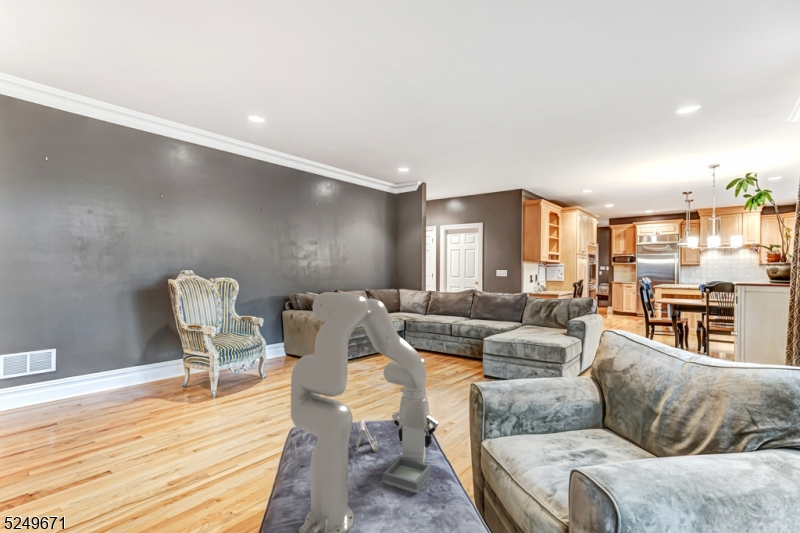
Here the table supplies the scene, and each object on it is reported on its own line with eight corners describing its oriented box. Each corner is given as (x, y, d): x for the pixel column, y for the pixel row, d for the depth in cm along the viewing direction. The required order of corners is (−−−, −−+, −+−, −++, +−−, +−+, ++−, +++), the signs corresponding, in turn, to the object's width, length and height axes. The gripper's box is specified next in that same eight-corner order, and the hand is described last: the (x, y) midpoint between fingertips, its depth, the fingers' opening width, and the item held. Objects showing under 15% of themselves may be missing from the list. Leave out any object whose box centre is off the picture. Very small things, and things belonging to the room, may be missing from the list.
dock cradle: (416, 493, 111) (416, 483, 111) (382, 482, 117) (383, 473, 117) (431, 474, 121) (431, 465, 121) (400, 465, 127) (400, 456, 127)
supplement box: (425, 456, 133) (426, 420, 133) (423, 467, 126) (423, 429, 126) (405, 454, 134) (405, 419, 134) (401, 465, 127) (401, 427, 127)
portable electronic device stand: (378, 451, 137) (378, 428, 137) (356, 453, 135) (356, 429, 135) (375, 440, 145) (376, 419, 145) (355, 442, 144) (355, 420, 144)
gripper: (387, 393, 131) (387, 442, 131) (433, 401, 123) (433, 453, 123) (397, 386, 138) (397, 433, 138) (441, 394, 130) (442, 443, 130)
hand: (414, 442), depth 130 cm, fingers open, 9 cm apart
